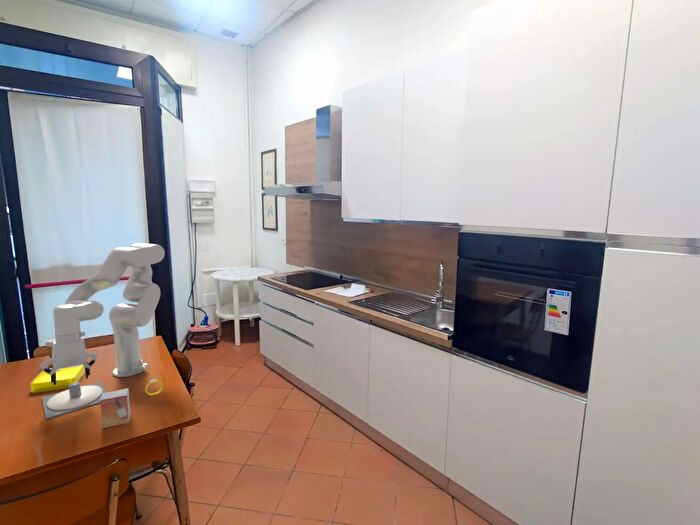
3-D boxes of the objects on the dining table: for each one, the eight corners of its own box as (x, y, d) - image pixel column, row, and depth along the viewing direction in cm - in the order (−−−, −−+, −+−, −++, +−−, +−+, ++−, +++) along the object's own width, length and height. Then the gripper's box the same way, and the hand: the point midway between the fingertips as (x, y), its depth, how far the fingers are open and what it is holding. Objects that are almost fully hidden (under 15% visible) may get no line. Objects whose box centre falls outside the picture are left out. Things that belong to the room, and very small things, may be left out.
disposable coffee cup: (69, 356, 176) (66, 333, 174) (75, 361, 171) (73, 338, 169) (44, 363, 168) (41, 339, 167) (51, 368, 163) (48, 344, 161)
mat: (110, 400, 137) (109, 398, 137) (46, 419, 124) (45, 418, 124) (100, 382, 151) (100, 381, 151) (42, 398, 138) (41, 397, 138)
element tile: (29, 394, 141) (28, 383, 141) (44, 378, 155) (43, 367, 154) (75, 387, 147) (73, 377, 146) (86, 372, 161) (84, 362, 160)
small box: (101, 429, 119) (98, 400, 118) (104, 420, 124) (101, 392, 123) (129, 423, 123) (127, 394, 121) (130, 414, 128) (128, 387, 126)
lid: (106, 398, 137) (105, 384, 136) (49, 416, 126) (47, 401, 125) (98, 383, 149) (96, 370, 148) (45, 397, 138) (43, 383, 137)
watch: (147, 398, 140) (144, 384, 138) (146, 395, 142) (143, 381, 141) (163, 392, 143) (161, 379, 142) (162, 390, 145) (160, 376, 144)
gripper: (96, 331, 142) (98, 371, 143) (39, 338, 131) (42, 382, 133) (96, 336, 135) (99, 378, 137) (36, 344, 125) (40, 390, 127)
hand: (71, 380), depth 135 cm, fingers open, 9 cm apart
